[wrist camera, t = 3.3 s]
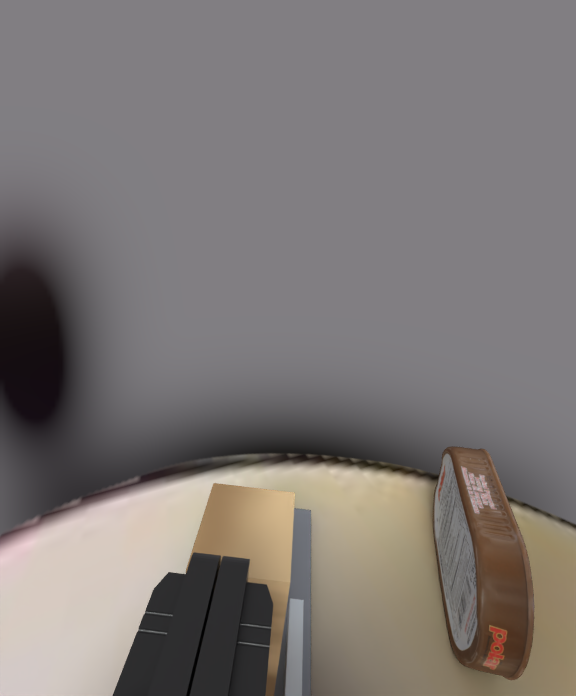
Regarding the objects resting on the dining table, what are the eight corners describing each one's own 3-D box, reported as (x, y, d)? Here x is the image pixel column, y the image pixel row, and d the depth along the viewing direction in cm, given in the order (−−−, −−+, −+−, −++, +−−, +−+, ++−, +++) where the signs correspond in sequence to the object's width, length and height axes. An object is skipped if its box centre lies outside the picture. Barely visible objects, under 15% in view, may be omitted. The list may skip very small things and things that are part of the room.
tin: (508, 718, 22) (564, 605, 19) (446, 700, 23) (490, 587, 20) (460, 514, 36) (487, 429, 33) (421, 506, 37) (445, 421, 33)
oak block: (276, 631, 25) (294, 492, 21) (267, 736, 20) (290, 582, 16) (207, 623, 25) (213, 483, 21) (183, 725, 20) (185, 569, 16)
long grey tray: (310, 515, 34) (313, 495, 33) (307, 1064, 13) (316, 1043, 12) (210, 503, 34) (211, 483, 34) (46, 1031, 13) (39, 1007, 12)
